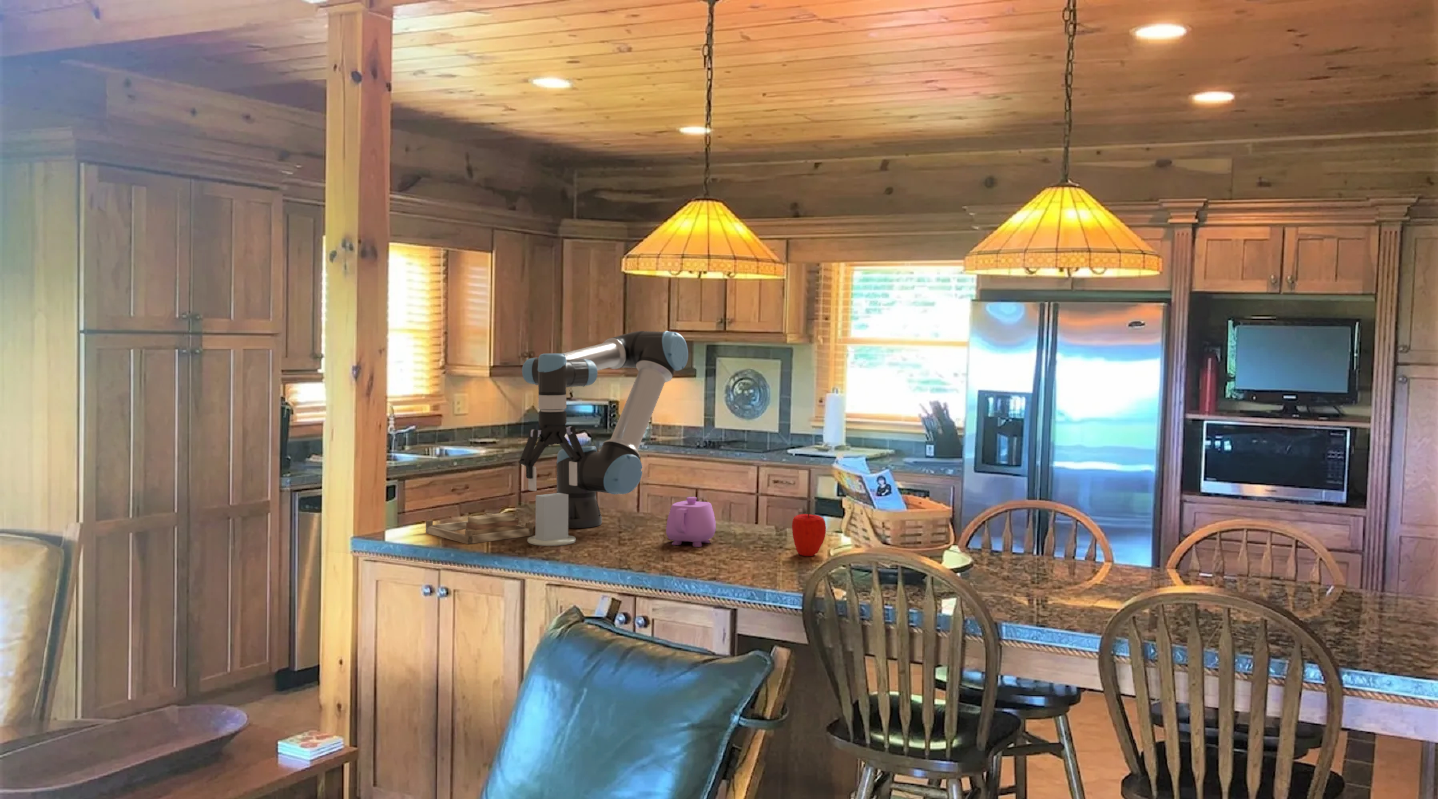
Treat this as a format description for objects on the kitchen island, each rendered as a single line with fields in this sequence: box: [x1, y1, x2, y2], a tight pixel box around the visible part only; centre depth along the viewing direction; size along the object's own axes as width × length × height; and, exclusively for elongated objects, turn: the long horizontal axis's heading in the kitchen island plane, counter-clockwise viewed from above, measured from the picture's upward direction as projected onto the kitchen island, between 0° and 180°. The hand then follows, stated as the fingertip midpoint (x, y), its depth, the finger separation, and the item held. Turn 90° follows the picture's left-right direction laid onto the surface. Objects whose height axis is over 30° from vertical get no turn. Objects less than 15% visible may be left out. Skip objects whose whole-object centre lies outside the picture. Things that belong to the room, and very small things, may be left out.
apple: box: [791, 513, 827, 557], centre depth 301 cm, size 9×9×11 cm
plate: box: [527, 534, 577, 547], centre depth 314 cm, size 13×13×1 cm
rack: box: [425, 512, 534, 545], centre depth 324 cm, size 21×22×4 cm
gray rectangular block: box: [535, 492, 569, 541], centre depth 314 cm, size 8×4×12 cm, turn 134°
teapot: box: [665, 496, 717, 548], centre depth 315 cm, size 20×12×13 cm, turn 160°
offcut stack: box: [465, 512, 519, 535], centre depth 319 cm, size 14×5×6 cm, turn 134°
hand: (553, 487), depth 314 cm, fingers open, 13 cm apart
